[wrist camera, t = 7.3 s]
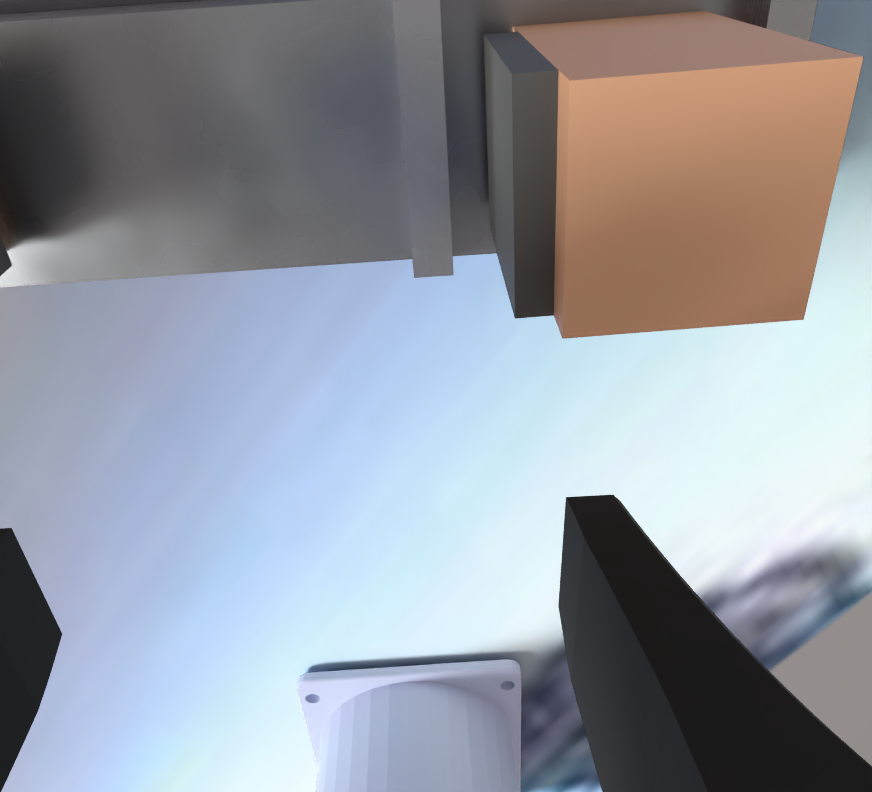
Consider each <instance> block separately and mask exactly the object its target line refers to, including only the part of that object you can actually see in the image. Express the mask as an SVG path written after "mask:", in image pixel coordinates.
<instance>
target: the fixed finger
mask: <svg viewBox="0 0 872 792" xmlns="http://www.w3.org/2000/svg"><path fill="white" fill-rule="evenodd" d="M11 266H12V263H11V261H10V258H9V256H8V253H7V251H6V248H5V246H4V243H3V241H2V238H1V236H0V276H1V275H2V274H3V273H5V272H6V271H7V270H8V269H9V268H10V267H11Z"/></svg>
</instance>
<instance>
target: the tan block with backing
mask: <svg viewBox="0 0 872 792" xmlns="http://www.w3.org/2000/svg"><path fill="white" fill-rule="evenodd" d="M484 56H485V88H486V120H487V152H488V184H489V216H490V230H491V234H492V237H493V241H494V245H495V248H496V252H497V255H498V259H499V263H500V266H501V270H502V273H503V277H504V281H505V284H506V288H507V291H508V295H509V299H510V302H511V306H512V309H513V313H514V317H515V318H526V317H539V316H551V315H554V317H555V320H556V322H557V325H558V328H559V330H560V333H561V336H562V338H575V337H588V336H601V335H613V334H626V333H639V332H651V331H664V330H677V329H689V328H702V327H715V326H728V325H740V324H753V323H766V322H778V321H791V320H804V315H805V311H806V307H807V302H808V298H809V294H810V289H811V285H812V280H813V276H814V272H815V267H816V263H817V258H818V254H819V250H820V245H821V241H822V237H823V232H824V228H825V223H826V219H827V215H828V210H829V206H830V202H831V197H832V193H833V188H834V184H835V180H836V175H837V171H838V166H839V162H840V158H841V153H842V149H843V145H844V140H845V136H846V131H847V127H848V123H849V118H850V114H851V110H852V105H853V101H854V96H855V92H856V88H857V83H858V79H859V74H860V70H861V66H862V61H863V56H860V55H856V54H853V53H849V52H846V51H842V50H839V49H835V48H832V47H829V46H825V45H822V44H818V43H815V42H811V41H808V40H804V39H801V38H797V37H794V36H790V35H787V34H783V33H780V32H776V31H773V30H769V29H766V28H762V27H759V26H756V25H752V24H749V23H745V22H742V21H738V20H735V19H731V18H728V17H724V16H721V15H717V14H714V13H710V12H707V11H696V12H684V13H672V14H660V15H648V16H636V17H624V18H612V19H600V20H587V21H575V22H563V23H551V24H539V25H527V26H515V27H513V32H509V33H497V34H484Z"/></svg>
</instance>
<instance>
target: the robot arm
mask: <svg viewBox="0 0 872 792" xmlns="http://www.w3.org/2000/svg"><path fill="white" fill-rule="evenodd" d="M559 612H560V618H561V624H562V630H563V636H564V642H565V648H566V654H567V660H568V665H569V671H570V677H571V681H572V685H573V689H574V692H575V696H576V700H577V703H578V707H579V710H580V714H581V717H582V721H583V725H584V728H585V732H586V735H587V739H588V742H589V746H590V749H591V753H592V756H593V760H594V763H595V767H596V770H597V774H598V777H599V781H600V784H601V788H602V791H603V792H872V766H871V765H870V764H868V763H867V762H866V761H865V760H864V759H863V758H862V757H861V756H859V755H858V754H857V753H856V752H855V751H854V750H853V749H851V748H850V747H849V746H848V745H847V744H846V743H845V742H844V741H842V740H841V739H840V738H839V737H838V736H837V735H836V734H834V733H833V732H832V731H831V730H830V729H829V728H828V727H826V725H825V724H823V723H822V722H821V721H820V720H819V719H818V718H817V717H816V716H814V714H813V713H812V712H811V711H809V710H808V709H807V708H806V707H805V706H804V705H803V704H802V703H801V702H800V701H799V700H798V699H797V698H796V697H795V696H794V695H793V694H792V693H791V692H790V691H789V690H787V689H786V688H785V687H784V686H783V685H782V684H781V683H780V682H779V681H778V680H777V679H776V678H775V677H774V676H773V675H772V674H771V673H770V672H769V671H768V670H767V669H766V668H765V667H764V666H763V665H762V664H761V663H760V662H759V661H758V660H757V659H756V658H755V657H754V656H753V655H752V654H751V652H750V651H749V650H748V649H747V648H746V647H745V646H744V645H743V644H742V643H741V642H740V641H739V640H738V639H737V638H736V637H735V636H734V635H733V634H732V633H731V632H730V630H729V629H728V628H727V627H726V626H725V625H724V624H723V623H722V622H721V621H720V619H719V618H718V617H717V616H716V615H715V614H714V613H713V612H712V611H711V610H710V608H709V607H708V606H707V605H706V604H705V603H704V602H703V601H702V600H701V598H700V597H699V596H698V595H697V594H696V593H695V592H694V591H693V590H692V588H691V587H690V586H689V585H688V584H687V583H686V582H685V580H684V579H683V578H682V577H681V576H680V575H679V573H678V572H677V571H676V570H675V569H674V568H673V566H672V565H671V564H670V563H669V562H668V560H667V559H666V558H665V557H664V556H663V554H662V553H661V552H660V551H659V550H658V548H657V547H656V546H655V545H654V543H653V542H652V541H651V540H650V539H649V537H648V536H647V535H646V534H645V532H644V531H643V530H642V529H641V527H640V526H639V525H638V523H637V522H636V521H635V520H634V518H633V517H632V516H631V515H630V513H629V512H628V511H627V509H626V508H625V507H624V505H623V504H622V503H621V502H620V501H619V500H618V499H617V498H616V497H615V496H614V495H600V496H582V497H566V507H565V521H564V535H563V550H562V564H561V578H560V593H559ZM61 636H62V633H61V631H60V628H59V626H58V624H57V622H56V620H55V618H54V616H53V614H52V612H51V610H50V608H49V605H48V603H47V601H46V599H45V597H44V595H43V593H42V591H41V589H40V587H39V585H38V583H37V580H36V578H35V576H34V574H33V572H32V570H31V568H30V566H29V564H28V562H27V560H26V557H25V555H24V553H23V551H22V549H21V547H20V545H19V543H18V541H17V539H16V537H15V534H14V532H13V530H12V528H5V529H0V792H1V790H2V788H3V786H4V784H5V782H6V780H7V778H8V776H9V773H10V771H11V769H12V767H13V765H14V762H15V760H16V758H17V756H18V754H19V752H20V749H21V747H22V745H23V743H24V741H25V738H26V736H27V734H28V732H29V730H30V727H31V725H32V723H33V721H34V718H35V716H36V714H37V712H38V709H39V706H40V703H41V700H42V697H43V694H44V691H45V688H46V685H47V682H48V679H49V676H50V673H51V670H52V667H53V663H54V660H55V656H56V653H57V650H58V646H59V643H60V639H61ZM297 693H298V697H299V701H300V704H301V708H302V712H303V716H304V720H305V723H306V727H307V731H308V735H309V739H310V742H311V746H312V750H313V754H314V758H315V761H316V765H317V769H318V771H317V780H316V790H315V792H520V783H521V669H520V665H519V664H518V663H517V662H516V661H514V660H510V659H503V660H488V661H473V662H458V663H443V664H428V665H414V666H399V667H384V668H369V669H354V670H339V671H324V672H310V673H305V674H303V675H301V676H300V677H299V678H298V682H297Z"/></svg>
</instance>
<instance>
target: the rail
mask: <svg viewBox="0 0 872 792" xmlns="http://www.w3.org/2000/svg"><path fill="white" fill-rule="evenodd" d="M817 1H818V0H199V1H185V2H171V3H156V4H142V5H128V6H113V7H99V8H85V9H70V10H56V11H42V12H27V13H13V14H0V236H1V238H2V241H3V243H4V246H5V248H6V251H7V253H8V256H9V258H10V261H11V263H12V266H11V267H10V268H9V269H8V270H7V271H6V272H5V273H3V274H2V275H1V276H0V287H12V286H26V285H41V284H55V283H70V282H84V281H99V280H113V279H128V278H142V277H157V276H172V275H186V274H201V273H215V272H230V271H244V270H259V269H273V268H288V267H303V266H317V265H332V264H346V263H361V262H375V261H390V260H404V259H413V269H414V278H418V277H432V276H447V275H453V257H452V256H463V255H477V254H492V253H497V252H496V248H495V245H494V241H493V237H492V234H491V230H490V216H489V184H488V152H487V120H486V88H485V56H484V34H497V33H509V32H513V27H515V26H527V25H539V24H551V23H563V22H575V21H587V20H600V19H612V18H624V17H636V16H648V15H660V14H672V13H684V12H696V11H707V12H710V13H714V14H717V15H721V16H724V17H728V18H731V19H735V20H738V21H742V22H745V23H749V24H752V25H756V26H759V27H762V28H766V29H769V30H773V31H776V32H780V33H783V34H787V35H790V36H794V37H797V38H801V39H804V40H808V41H810V36H811V31H812V26H813V21H814V16H815V11H816V6H817Z"/></svg>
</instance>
